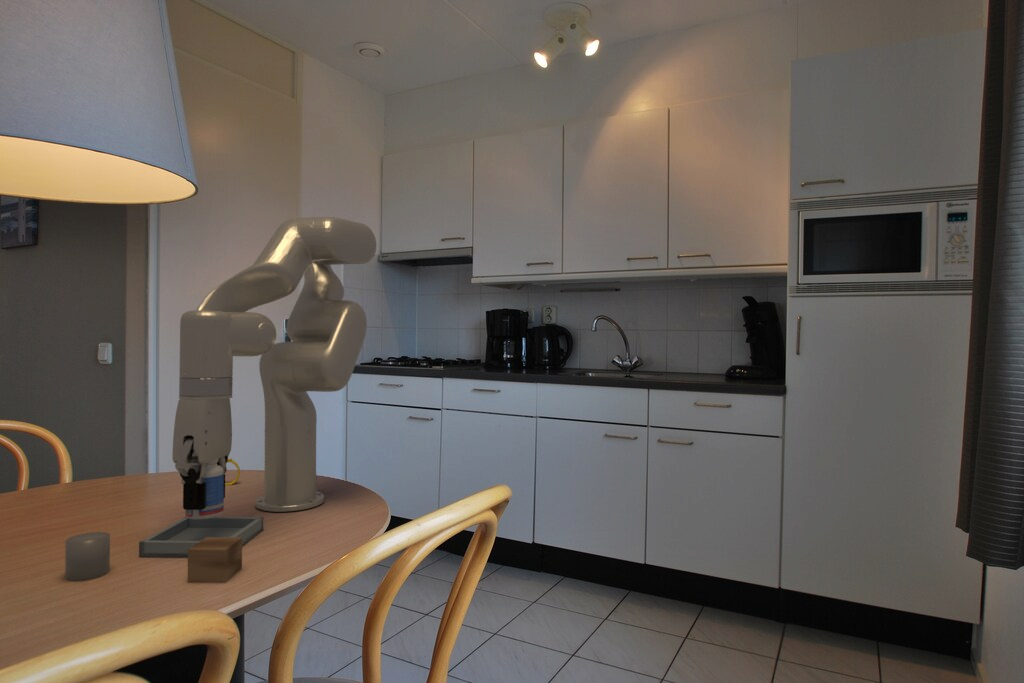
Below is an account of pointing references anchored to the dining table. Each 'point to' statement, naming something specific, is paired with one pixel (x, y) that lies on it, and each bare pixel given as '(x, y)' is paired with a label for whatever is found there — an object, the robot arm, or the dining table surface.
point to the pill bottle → (210, 492)
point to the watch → (237, 474)
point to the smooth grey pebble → (87, 556)
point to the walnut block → (214, 560)
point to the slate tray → (197, 534)
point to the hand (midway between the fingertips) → (204, 502)
